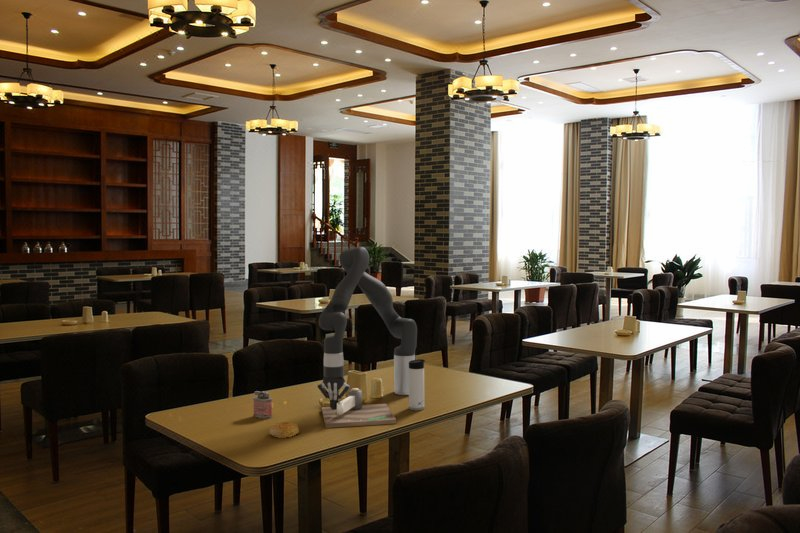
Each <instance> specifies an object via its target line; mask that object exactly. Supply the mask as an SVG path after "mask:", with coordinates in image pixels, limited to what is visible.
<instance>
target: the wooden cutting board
mask: <svg viewBox="0 0 800 533" xmlns="http://www.w3.org/2000/svg"><path fill="white" fill-rule="evenodd" d="M321 414H322V418H323V421H324V425H325V428H326V429H330V428H346V427H361V426H376V425H377V426H378V425H392V424H393V425H394V424H397V419H396V417H395V415H394V414H393V412H392V411H391V409H390V408H389V407H388V405H387V403H375V404H373V403H372V404H362V408H361V409H358V410H352V409H349V410H348V411H346V412H345V413H343V414H342V415H338V414H337V409H336V410H332V409H331V408H330V406H323V407H321Z"/></svg>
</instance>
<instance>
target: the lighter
mask: <svg viewBox="0 0 800 533" xmlns="http://www.w3.org/2000/svg"><path fill="white" fill-rule="evenodd" d="M254 395H255V396H253V397H252V400H253V416H254V417H253V416H252V417H253V418H256V417H259V418H258V419H266V418H268V419H269V418H270V419H272V418H273V398H272V397H270V392H266V391H264V390H263V391H258V390H256V391H254ZM268 419H267V420H268Z"/></svg>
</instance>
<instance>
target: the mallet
mask: <svg viewBox="0 0 800 533" xmlns="http://www.w3.org/2000/svg"><path fill="white" fill-rule="evenodd" d="M362 394H363V391H362V389H360V388H358V387H353V388H351V389H348V397H345V398H344V399H342V400H341V401H338V403H337V414H338V415H342V414H343V413H345V412H346V411H348V410H349V409H352V410H358V409H361V408H362V405H363V395H362Z"/></svg>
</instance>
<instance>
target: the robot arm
mask: <svg viewBox="0 0 800 533" xmlns="http://www.w3.org/2000/svg"><path fill="white" fill-rule="evenodd" d="M338 258H339V263H340V265H341V267H342V269H343V270H344V271H345V273H346V275H345V276H344V278H342V280H341V281H340V282H339V283H338V284H337V286H336V287H335V289H334V291H333V294H332V297H331V299H330V302H329V303H328V304H327V305H326V306H325V307H324V309H323V310H322V312H321V313H320V314H319V319H318V324H319V327H320V328H321V329H322V330H324V331H334V334H333V335H331V336H325V338H324V340H323V343H324V344H323V379H322V382H321V383H319V384H317V388H318V390H319V391H320V392H321V393H322V395H323V397H324V398H325V399H329V407H330V408H331V409H332V410H336V409H337V403H339V400H340V399H342V398H343V397H344V396H345V394H346V393H347V392H349V390H350V388H351V385H350V384H347V383H346V381H345V380H346V379H344V378H345V375H344V373H345V372H344V368H345V367H344V363H345V362H344V352H343V351H344V350H343V347H344V346H343V342H344V335H345V333H346V329H347V325H348V318H347V316H346V314H345V313H344V312H346V311H347V309H348V308H349V304H350V302H351V299H352V295H354V291H355V289H356V287H357V286H358V287H359V288H360V290H361V291H362V293H363V294H364V295H365V297H366V298H367V300H368V301H369V302H370V304H371V306H372V307H373V308H374V309H375V310H376V312H377V313H378V314H379V316H380V317H381V319H382V320H383V322H384V324H385V325H386V328H387V330H388V331H389V332H390V334H391V335H392V336H393V337H394V338H396V339H399V340H400V339H401V340H400V345H399V346H396V347H394V350H393V363H394V364H393V368H394V369H393V372H394V373H393V376H394V380H393V382H394V383H393V384H394V387H393V388H394V392H393V393H394V394H395V395H398V396H409V362H410V361H412V360H416V348H417V344H418V343H417V342H418V341H417V339H418V326H417V323H416V321H415V320H414V319H412V318H405V317H401V316H400V315H399V314H398V312H396V310H395V309H394V302H393V296H392V294H391V292H390V291H389V289H388V288H387V286H386V285H385V284H384V283H383V281H381V280H379V279H378V278H376V277H375V276H372V275H370V274H368V273H367V272H366V270H367V268H368V266H369V263H370V254H369V252H368V250H367V248H365V247H364V246H357V247H353V248H348V249H345V250H343V251H341V252H340V254H339V257H338ZM341 389H342V391H341V392H340V390H341Z"/></svg>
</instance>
